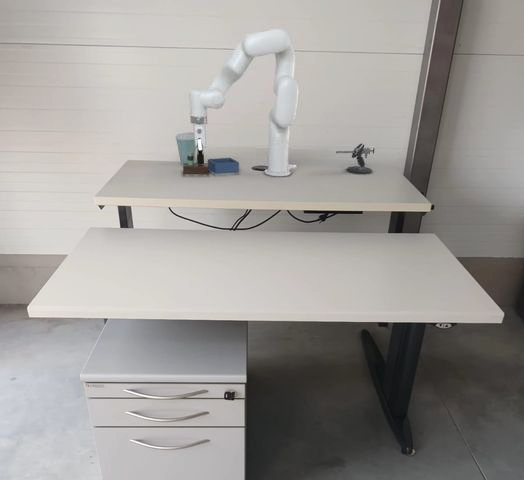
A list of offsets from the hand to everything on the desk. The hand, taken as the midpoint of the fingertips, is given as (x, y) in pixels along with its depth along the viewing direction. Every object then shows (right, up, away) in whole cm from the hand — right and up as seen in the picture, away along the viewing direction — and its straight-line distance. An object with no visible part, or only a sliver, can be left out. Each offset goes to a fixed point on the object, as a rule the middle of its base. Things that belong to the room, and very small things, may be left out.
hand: (200, 162), depth 234 cm
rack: (-3, -5, +3) cm, 6 cm away
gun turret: (+76, +3, +20) cm, 78 cm away
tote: (+10, -2, +8) cm, 13 cm away
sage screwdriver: (-5, -4, +2) cm, 6 cm away
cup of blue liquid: (-9, +6, +19) cm, 22 cm away
